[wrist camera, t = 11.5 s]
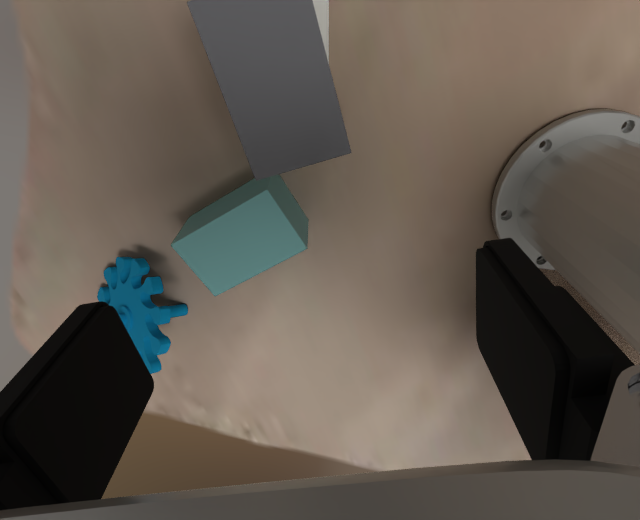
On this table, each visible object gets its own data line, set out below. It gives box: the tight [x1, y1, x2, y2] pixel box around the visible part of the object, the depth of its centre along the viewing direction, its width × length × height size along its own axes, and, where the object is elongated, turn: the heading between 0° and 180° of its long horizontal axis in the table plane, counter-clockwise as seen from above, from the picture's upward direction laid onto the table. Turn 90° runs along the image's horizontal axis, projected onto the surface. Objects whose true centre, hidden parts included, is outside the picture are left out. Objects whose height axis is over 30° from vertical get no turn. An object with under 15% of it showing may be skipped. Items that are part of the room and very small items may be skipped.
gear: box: [97, 257, 188, 374], centre depth 34 cm, size 11×6×10 cm
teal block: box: [171, 174, 308, 296], centre depth 30 cm, size 8×5×5 cm, turn 120°
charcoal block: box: [187, 0, 351, 181], centre depth 21 cm, size 8×5×5 cm, turn 16°
